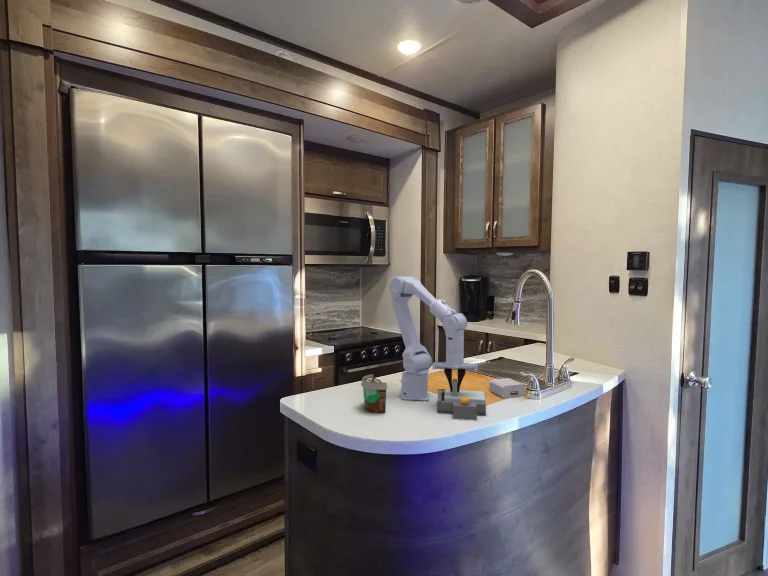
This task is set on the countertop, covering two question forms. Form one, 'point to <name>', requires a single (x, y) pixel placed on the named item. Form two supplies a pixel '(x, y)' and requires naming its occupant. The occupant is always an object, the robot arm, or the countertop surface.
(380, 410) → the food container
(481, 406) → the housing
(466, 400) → the plunger
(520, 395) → the charger
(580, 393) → the countertop surface
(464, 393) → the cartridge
